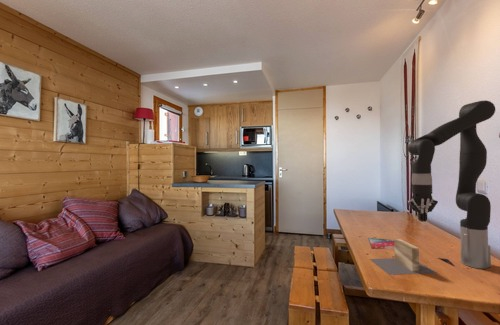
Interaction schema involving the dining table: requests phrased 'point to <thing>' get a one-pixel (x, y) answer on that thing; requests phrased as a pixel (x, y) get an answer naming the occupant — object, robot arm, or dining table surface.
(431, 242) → the dining table surface
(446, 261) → the cell phone
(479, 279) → the dining table surface
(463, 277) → the dining table surface
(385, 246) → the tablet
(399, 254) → the tile
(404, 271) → the mat
